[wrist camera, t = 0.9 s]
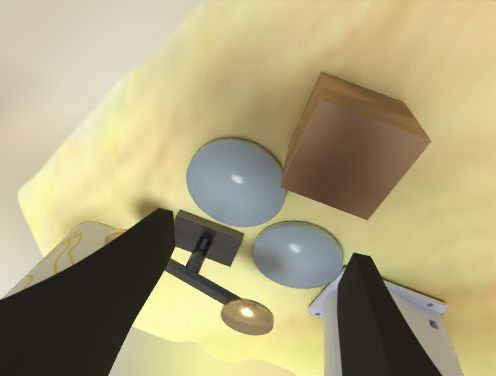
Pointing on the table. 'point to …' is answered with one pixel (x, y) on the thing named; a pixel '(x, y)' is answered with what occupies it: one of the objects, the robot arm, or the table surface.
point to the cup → (66, 253)
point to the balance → (220, 250)
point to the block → (351, 147)
